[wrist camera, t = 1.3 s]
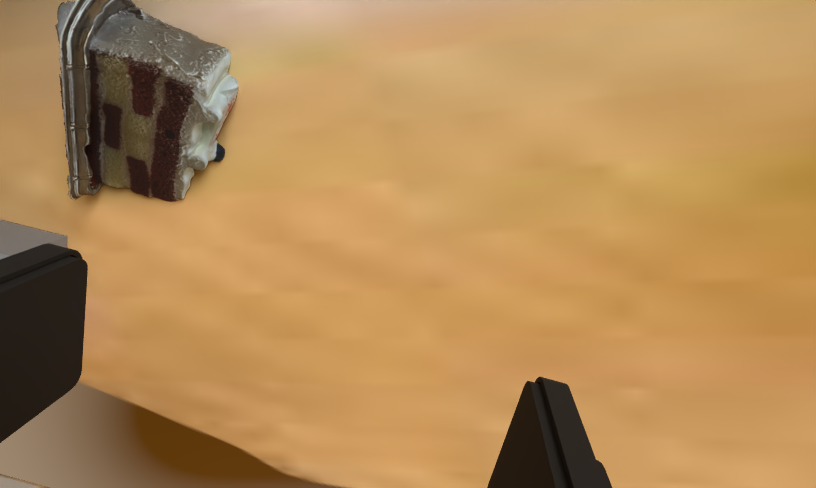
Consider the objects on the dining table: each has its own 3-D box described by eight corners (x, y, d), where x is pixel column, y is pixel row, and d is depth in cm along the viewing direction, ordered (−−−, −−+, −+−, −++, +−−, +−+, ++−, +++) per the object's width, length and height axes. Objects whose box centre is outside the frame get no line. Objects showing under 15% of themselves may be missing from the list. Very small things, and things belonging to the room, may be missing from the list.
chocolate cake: (200, 245, 31) (208, 144, 21) (72, 209, 29) (10, 78, 19) (244, 120, 35) (270, -16, 25) (134, 82, 33) (112, -85, 23)
